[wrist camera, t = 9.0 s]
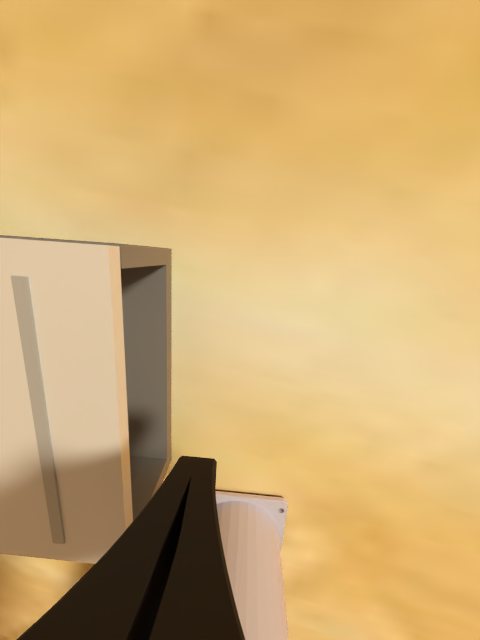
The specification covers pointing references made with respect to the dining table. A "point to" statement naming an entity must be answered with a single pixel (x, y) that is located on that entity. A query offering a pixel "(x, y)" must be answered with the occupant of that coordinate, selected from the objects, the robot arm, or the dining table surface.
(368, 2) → the dining table surface
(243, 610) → the robot arm
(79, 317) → the lid
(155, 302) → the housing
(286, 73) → the dining table surface
